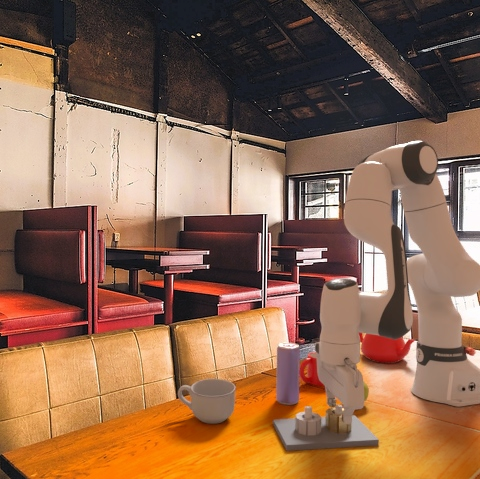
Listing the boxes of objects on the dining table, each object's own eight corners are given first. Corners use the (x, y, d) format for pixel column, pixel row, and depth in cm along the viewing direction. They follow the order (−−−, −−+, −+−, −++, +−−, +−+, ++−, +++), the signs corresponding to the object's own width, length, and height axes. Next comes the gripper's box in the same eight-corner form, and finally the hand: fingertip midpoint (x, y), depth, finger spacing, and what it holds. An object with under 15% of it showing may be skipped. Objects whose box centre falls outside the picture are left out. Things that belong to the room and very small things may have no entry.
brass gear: (345, 422, 109) (345, 407, 109) (354, 432, 104) (354, 416, 103) (322, 423, 108) (323, 408, 108) (330, 434, 103) (331, 417, 103)
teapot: (343, 354, 173) (344, 321, 172) (373, 348, 181) (373, 317, 181) (399, 372, 151) (400, 334, 151) (430, 365, 160) (431, 329, 159)
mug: (291, 382, 140) (291, 356, 140) (320, 375, 147) (320, 350, 147) (309, 390, 134) (310, 362, 134) (339, 382, 141) (339, 356, 141)
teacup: (241, 413, 117) (241, 381, 117) (225, 431, 107) (226, 396, 106) (190, 406, 121) (190, 375, 121) (170, 422, 111) (170, 388, 111)
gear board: (354, 420, 113) (355, 394, 113) (378, 445, 100) (379, 416, 100) (273, 424, 110) (273, 398, 110) (286, 450, 97) (287, 421, 97)
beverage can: (298, 406, 122) (298, 348, 121) (274, 404, 123) (275, 347, 122) (299, 398, 127) (300, 343, 127) (277, 396, 129) (278, 341, 128)
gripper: (372, 365, 95) (371, 433, 96) (337, 341, 116) (336, 397, 116) (342, 366, 95) (341, 435, 95) (312, 342, 115) (311, 398, 115)
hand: (338, 414), depth 106 cm, fingers open, 8 cm apart
